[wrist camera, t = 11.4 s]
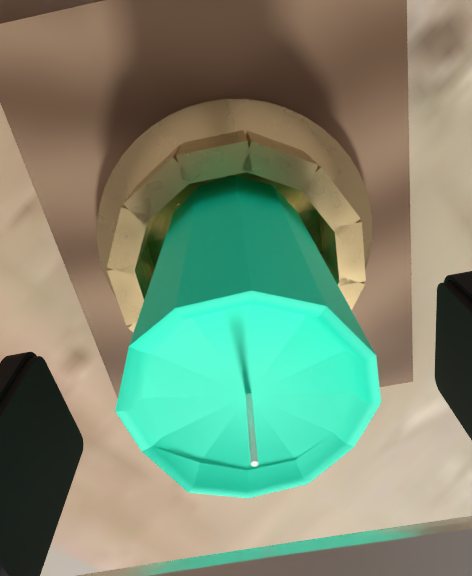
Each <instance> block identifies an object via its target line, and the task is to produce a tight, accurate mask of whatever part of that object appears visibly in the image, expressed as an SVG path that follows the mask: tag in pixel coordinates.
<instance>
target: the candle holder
mask: <svg viewBox="0 0 472 576" xmlns="http://www.w3.org/2000/svg"><path fill="white" fill-rule="evenodd" d="M232 176H239V177H243V178H247V179H251V180H254V181H258V182H262V183H266V184H270V185H272V186H273V187H274V188H275V189H276V190H277V191H278V192H279V193H280V194H281V195H282V196H283V197H284V198H285V199H286V200H287V201H288V202H289V203H290V204H291V205H292V206H293V207H294V208H295V209H296V210H297V212H298V214H299V216H300V218H301V219H302V221H303V223H304V225H305V227H306V228H307V230H308V232H309V234H310V236H311V238H312V239H313V241H314V243H315V245H316V247H317V248H318V250H319V252H320V254H321V256H322V258H323V259H324V261H325V263H326V265H327V267H328V268H329V270H330V272H331V274H332V276H333V278H334V279H335V281H336V283H337V285H338V287H339V289H340V290H341V292H342V294H343V296H344V298H345V299H346V301H347V303H348V305H349V307H350V309H351V310H352V309H353V307H354V305H355V303H356V301H357V299H358V297H359V295H360V293H361V291H362V289H363V288H364V286H365V283H364V281H366V276H365V270H366V266H367V263H368V260H369V256H370V250H371V243H372V214H371V206H370V202H369V198H368V194H367V191H366V187H365V185H364V183H363V180H362V178H361V176H360V173H359V171H358V169H357V168H356V166H355V165H354V163H353V161H352V160H351V158H350V156H349V155H348V154H347V153H346V151H345V150H344V149H343V148H342V147H341V145H340V144H339V143H338V142H337V141H336V140H335V139H334V138H333V137H332V136H331V135H330V134H328V133H327V132H326V131H325V130H324V129H323V128H322V127H320V126H319V125H317V124H315V123H314V122H312V121H311V120H309V119H308V118H306V117H305V116H303V115H301V114H299V113H296V112H294V111H292V110H290V109H288V108H286V107H283V106H280V105H277V104H273V103H270V102H267V101H261V100H255V99H248V98H223V99H216V100H209V101H204V102H201V103H197V104H194V105H190V106H187V107H185V108H183V109H181V110H178V111H176V112H174V113H172V114H170V115H168V116H167V117H165V118H163V119H162V120H160V121H159V122H157V123H155V124H154V125H153V126H151V127H150V128H149V129H148V130H147V131H145V132H144V133H143V134H142V135H141V136H140V137H138V138H137V139H136V140H135V141H134V142H133V143H132V145H131V146H130V147H129V148H128V149H127V150H126V151H125V153H124V154H123V155H122V157H121V158H120V160H119V161H118V163H117V164H116V166H115V167H114V169H113V170H112V173H111V175H110V177H109V179H108V181H107V183H106V186H105V188H104V191H103V195H102V198H101V202H100V205H99V212H98V219H97V244H98V251H99V257H100V261H101V265H102V268H103V272H104V274H105V277H106V279H107V281H108V284H109V286H110V288H111V290H112V292H113V293H114V295H115V297H116V298H117V301H118V304H119V306H120V309H121V312H122V315H123V318H124V321H125V323H126V325H129V327H128V328H129V329H130V330H131V331H132V332H134V329H135V326H136V323H137V320H138V317H139V314H140V312H141V309H142V306H143V303H144V300H145V297H146V294H147V291H148V288H149V285H150V282H151V279H152V276H153V273H154V270H155V267H156V264H157V261H158V258H159V255H160V252H161V249H162V246H163V243H164V240H165V237H166V234H167V231H168V228H169V225H170V222H171V219H172V216H173V213H174V211H175V210H176V209H177V208H178V207H179V206H180V205H181V204H182V203H183V202H184V201H185V200H186V199H187V198H188V197H189V196H190V195H191V193H192V192H193V191H194V190H195V189H196V188H197V187H198V186H200V185H203V184H207V183H210V182H214V181H218V180H221V179H225V178H228V177H232Z"/></svg>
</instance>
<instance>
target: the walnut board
mask: <svg viewBox="0 0 472 576" xmlns="http://www.w3.org/2000/svg"><path fill="white" fill-rule="evenodd" d="M223 98H248V99H255V100H261V101H267V102H270V103H273V104H277V105H280V106H283V107H286V108H288V109H290V110H292V111H294V112H296V113H299V114H301V115H303V116H305V117H306V118H308V119H309V120H311V121H312V122H314V123H315V124H317V125H319V126H320V127H322V128H323V129H324V130H325V131H326V132H327V133H328V134H330V135H331V136H332V137H333V138H334V139H335V140H336V141H337V142H338V143H339V144H340V145H341V147H342V148H343V149H344V150H345V151H346V153H347V154H348V155H349V156H350V158H351V160H352V161H353V163H354V165H355V166H356V168H357V169H358V171H359V173H360V176H361V178H362V180H363V183H364V185H365V187H366V191H367V194H368V198H369V202H370V206H371V214H372V243H371V250H370V256H369V260H368V263H367V266H366V270H365V276H366V281H364V283H365V286H364V288H363V289H362V291H361V293H360V295H359V297H358V299H357V301H356V303H355V305H354V307H353V309H352V312H353V314H354V316H355V318H356V319H357V321H358V323H359V325H360V327H361V329H362V330H363V332H364V334H365V336H366V338H367V340H368V341H369V343H370V345H371V347H372V349H373V350H374V352H375V354H376V358H377V368H378V378H379V387H384V386H389V385H395V384H401V383H407V382H413V356H412V297H411V238H410V179H409V119H408V60H407V1H406V0H103V1H99V2H94V3H90V4H85V5H81V6H77V7H72V8H68V9H63V10H59V11H55V12H50V13H46V14H41V15H37V16H33V17H28V18H24V19H19V20H15V21H10V22H6V23H2V24H0V103H1V105H2V108H3V110H4V113H5V115H6V118H7V120H8V123H9V125H10V128H11V130H12V133H13V135H14V138H15V140H16V143H17V145H18V148H19V150H20V153H21V156H22V158H23V161H24V163H25V166H26V168H27V171H28V173H29V176H30V178H31V181H32V183H33V186H34V188H35V191H36V193H37V196H38V198H39V201H40V203H41V206H42V208H43V211H44V214H45V216H46V219H47V221H48V224H49V226H50V229H51V231H52V234H53V236H54V239H55V241H56V244H57V246H58V249H59V251H60V254H61V256H62V259H63V261H64V264H65V266H66V269H67V272H68V274H69V277H70V279H71V282H72V284H73V287H74V289H75V292H76V294H77V297H78V299H79V302H80V304H81V307H82V309H83V312H84V314H85V317H86V319H87V322H88V324H89V327H90V330H91V332H92V335H93V337H94V340H95V342H96V345H97V347H98V350H99V352H100V355H101V357H102V360H103V362H104V365H105V367H106V370H107V372H108V375H109V377H110V380H111V382H112V385H113V387H114V390H115V393H116V395H117V398H118V396H119V392H120V387H121V382H122V377H123V372H124V367H125V363H126V358H127V353H128V348H129V344H130V341H131V338H132V335H133V332H132V331H131V330H130V329H129V328H128V327H129V325H126V323H125V321H124V318H123V315H122V312H121V309H120V306H119V304H118V301H117V298H116V297H115V295H114V293H113V292H112V290H111V288H110V286H109V284H108V281H107V279H106V277H105V274H104V272H103V268H102V265H101V261H100V257H99V251H98V244H97V219H98V212H99V205H100V202H101V198H102V195H103V191H104V188H105V186H106V183H107V181H108V179H109V177H110V175H111V173H112V170H113V169H114V167H115V166H116V164H117V163H118V161H119V160H120V158H121V157H122V155H123V154H124V153H125V151H126V150H127V149H128V148H129V147H130V146H131V145H132V143H133V142H134V141H135V140H136V139H137V138H138V137H140V136H141V135H142V134H143V133H144V132H145V131H147V130H148V129H149V128H150V127H151V126H153V125H154V124H155V123H157V122H159V121H160V120H162V119H163V118H165V117H167V116H168V115H170V114H172V113H174V112H176V111H178V110H181V109H183V108H185V107H187V106H190V105H194V104H197V103H201V102H204V101H209V100H216V99H223Z"/></svg>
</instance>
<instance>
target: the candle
mask: <svg viewBox="0 0 472 576" xmlns="http://www.w3.org/2000/svg"><path fill="white" fill-rule="evenodd" d="M380 404H381V397H380V388H379V378H378V368H377V358H376V354H375V352H374V350H373V349H372V347H371V345H370V343H369V341H368V340H367V338H366V336H365V334H364V332H363V330H362V329H361V327H360V325H359V323H358V321H357V319H356V318H355V316H354V314H353V312H352V310H351V309H350V307H349V305H348V303H347V301H346V299H345V298H344V296H343V294H342V292H341V290H340V289H339V287H338V285H337V283H336V281H335V279H334V278H333V276H332V274H331V272H330V270H329V268H328V267H327V265H326V263H325V261H324V259H323V258H322V256H321V254H320V252H319V250H318V248H317V247H316V245H315V243H314V241H313V239H312V238H311V236H310V234H309V232H308V230H307V228H306V227H305V225H304V223H303V221H302V219H301V218H300V216H299V214H298V212H297V210H296V209H295V208H294V207H293V206H292V205H291V204H290V203H289V202H288V201H287V200H286V199H285V198H284V197H283V196H282V195H281V194H280V193H279V192H278V191H277V190H276V189H275V188H274V187H273V186H272V185H270V184H266V183H262V182H258V181H254V180H251V179H247V178H243V177H239V176H232V177H228V178H225V179H221V180H218V181H214V182H210V183H207V184H203V185H200V186H198V187H197V188H196V189H195V190H194V191H193V192H192V193H191V195H190V196H189V197H188V198H187V199H186V200H185V201H184V202H183V203H182V204H181V205H180V206H179V207H178V208H177V209H176V210H175V211H174V213H173V216H172V219H171V222H170V225H169V228H168V231H167V234H166V237H165V240H164V243H163V246H162V249H161V252H160V255H159V258H158V261H157V264H156V267H155V270H154V273H153V276H152V279H151V282H150V285H149V288H148V291H147V294H146V297H145V300H144V303H143V306H142V309H141V312H140V314H139V317H138V320H137V323H136V326H135V329H134V332H133V335H132V338H131V341H130V344H129V348H128V353H127V358H126V363H125V367H124V372H123V377H122V382H121V387H120V392H119V396H118V401H117V406H116V411H115V412H116V413H117V415H118V416H119V418H120V419H121V421H122V422H123V424H124V425H125V427H126V428H127V430H128V431H129V433H130V434H131V436H132V437H133V439H134V440H135V442H136V443H137V445H138V446H139V448H140V449H141V451H142V452H143V453H144V454H146V455H147V456H148V457H149V458H150V459H151V460H152V461H154V462H155V463H156V464H157V465H158V466H159V467H160V468H161V469H163V470H164V471H165V472H166V473H167V474H168V475H169V476H170V477H172V478H173V479H174V480H175V481H176V482H177V483H178V484H180V485H181V486H182V487H183V488H184V489H185V490H186V491H187V492H189V493H200V494H210V495H221V496H231V497H242V498H251V497H255V496H259V495H264V494H268V493H272V492H276V491H281V490H285V489H289V488H293V487H298V486H302V485H306V484H308V483H310V482H311V481H312V480H313V479H315V478H316V477H317V476H318V475H320V474H321V473H322V472H323V471H325V470H326V469H327V468H328V467H330V466H331V465H332V464H333V463H335V462H336V461H337V460H338V459H340V458H341V457H342V456H343V455H345V454H346V453H347V452H348V451H350V450H351V449H352V448H353V447H354V446H355V445H356V443H357V441H358V440H359V438H360V437H361V435H362V433H363V432H364V430H365V428H366V427H367V425H368V424H369V422H370V420H371V419H372V417H373V415H374V414H375V412H376V411H377V409H378V407H379V406H380Z"/></svg>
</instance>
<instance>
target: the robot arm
mask: <svg viewBox="0 0 472 576" xmlns="http://www.w3.org/2000/svg"><path fill="white" fill-rule="evenodd" d="M435 381H436V384H437V387H438V389H439V391H440V393H441V394H442V396H443V397H444V399H445V400H446V402H447V403H448V405H449V406H450V408H451V410H452V411H453V413H454V414H455V416H456V417H457V419H458V420H459V422H460V423H461V425H462V426H463V428H464V429H465V431H466V432H467V434H468V435H469V437H470V438H471V440H472V271H470V272H464V273H459V274H453V275H448V276H447V277H446V278H445V280H444V283H440V284H439V285H438V287H437V313H436V349H435ZM82 451H83V438H82V435H81V433H80V431H79V429H78V427H77V425H76V423H75V421H74V419H73V417H72V415H71V413H70V411H69V409H68V407H67V405H66V403H65V401H64V398H63V396H62V394H61V392H60V390H59V388H58V386H57V384H56V382H55V380H54V378H53V376H52V374H51V372H50V370H49V368H48V366H47V364H46V362H45V360H44V359H43V358H42V357H40V356H38V357H37V356H36V355H35V354H34V353H33V352H26V353H21V354H16V355H10V356H6V357H5V358H4V359H3V360H2V361H1V363H0V576H40V574H41V571H42V568H43V565H44V562H45V559H46V556H47V553H48V550H49V548H50V545H51V542H52V539H53V536H54V533H55V530H56V527H57V524H58V521H59V519H60V516H61V513H62V510H63V507H64V504H65V501H66V498H67V495H68V492H69V489H70V486H71V484H72V481H73V478H74V475H75V472H76V469H77V466H78V463H79V460H80V457H81V454H82ZM78 576H472V516H470V517H462V518H455V519H448V520H441V521H435V522H428V523H421V524H414V525H407V526H400V527H394V528H387V529H380V530H373V531H366V532H359V533H353V534H346V535H339V536H332V537H325V538H318V539H312V540H305V541H299V542H292V543H285V544H279V545H272V546H266V547H259V548H252V549H246V550H239V551H233V552H226V553H219V554H213V555H206V556H200V557H193V558H187V559H180V560H174V561H167V562H161V563H154V564H148V565H141V566H135V567H129V568H122V569H116V570H110V571H104V572H97V573H91V574H85V575H78Z"/></svg>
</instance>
